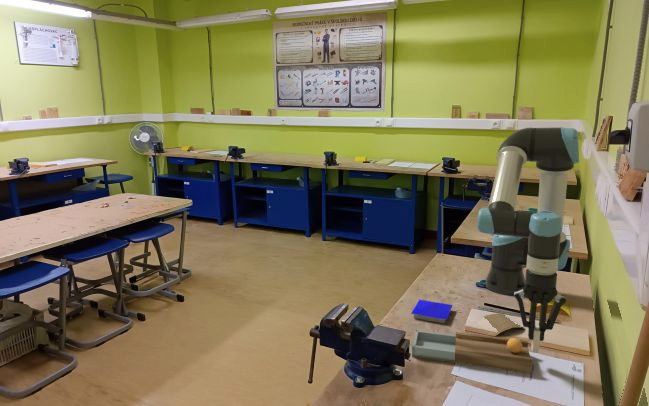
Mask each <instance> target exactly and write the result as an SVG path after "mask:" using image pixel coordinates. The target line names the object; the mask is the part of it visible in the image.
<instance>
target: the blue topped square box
mask: <svg viewBox="0 0 649 406" xmlns="http://www.w3.org/2000/svg"><path fill="white" fill-rule="evenodd" d="M452 308H453V304H449V303H448V304H447V303H442V302H437V301H429V300H425V299H424V300H423V299H418V301H417V303H416V305H415V306H414V307H413V309H412V311H411V314H410V315H413V318H414V319H418V320H423V321H429V322H433V323H434V322H435V323H440V324H446V321H447V320H448V317H449V314H450V312H451V310H452Z"/></svg>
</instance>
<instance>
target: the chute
mask: <svg viewBox="0 0 649 406" xmlns="http://www.w3.org/2000/svg"><path fill="white" fill-rule="evenodd" d="M455 335H456V343H455V363H456V364H462V365H468V366H476V367H484V368H489V369H491V368H492V369H497V370H505V371H510V372H511V371H512V372H517V373H518V372H519V373H526V374H532V369H533V357H531V355H530V351H529V346H528V344H529V342H528V340H523V339H522V340H521V339H519V340H520V341H521V343H522V350H521V351H520V352H518V353H513V352H511V351H510V350H509V349H508V347H507V342H508V340H509V339H510V338H505V337H498V336H489V335H481V334H473V333H466V332H465V333H464V332H455Z"/></svg>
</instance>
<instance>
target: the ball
mask: <svg viewBox="0 0 649 406" xmlns="http://www.w3.org/2000/svg"><path fill="white" fill-rule="evenodd" d="M508 339H509V340H508V342H507V347H508V349H509V350H510V351H511V352H513V353H518V352H520V351H521V350H522V343H521V341H520V340H521V339H519V338H516V337H512V338H508Z"/></svg>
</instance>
